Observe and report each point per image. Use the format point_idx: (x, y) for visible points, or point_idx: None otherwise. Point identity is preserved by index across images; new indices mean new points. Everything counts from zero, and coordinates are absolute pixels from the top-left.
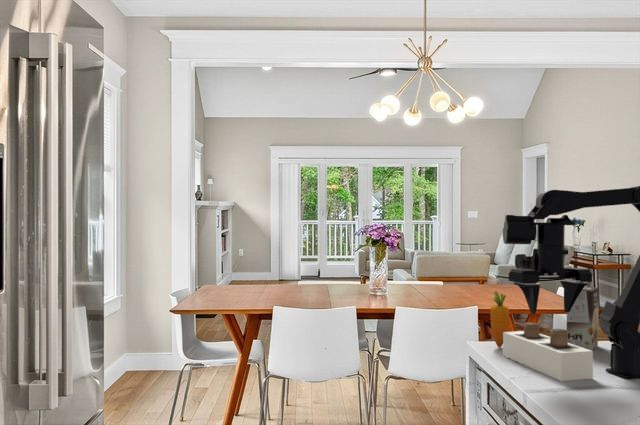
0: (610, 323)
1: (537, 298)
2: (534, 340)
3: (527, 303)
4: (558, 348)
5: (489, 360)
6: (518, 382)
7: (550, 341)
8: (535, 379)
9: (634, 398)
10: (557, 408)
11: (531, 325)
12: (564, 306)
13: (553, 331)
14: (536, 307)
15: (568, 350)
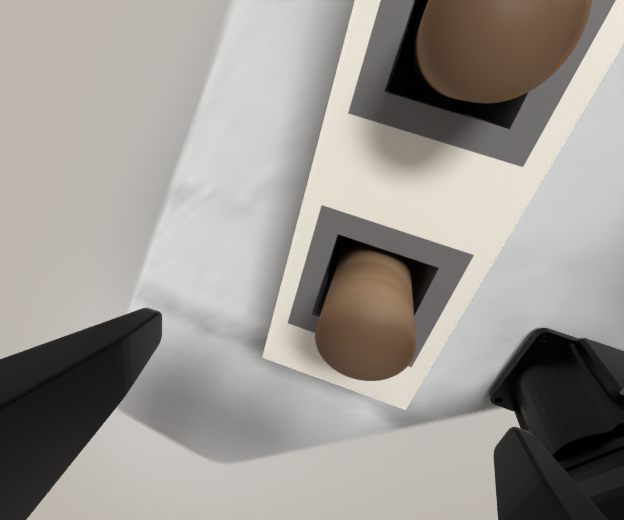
0: None
1: (22, 510)
2: (368, 147)
3: (46, 343)
4: (318, 317)
5: None
6: (167, 236)
7: (336, 277)
8: (236, 245)
9: (329, 443)
10: None
11: (434, 72)
12: (533, 474)
13: (316, 333)
14: (114, 402)
15: None
